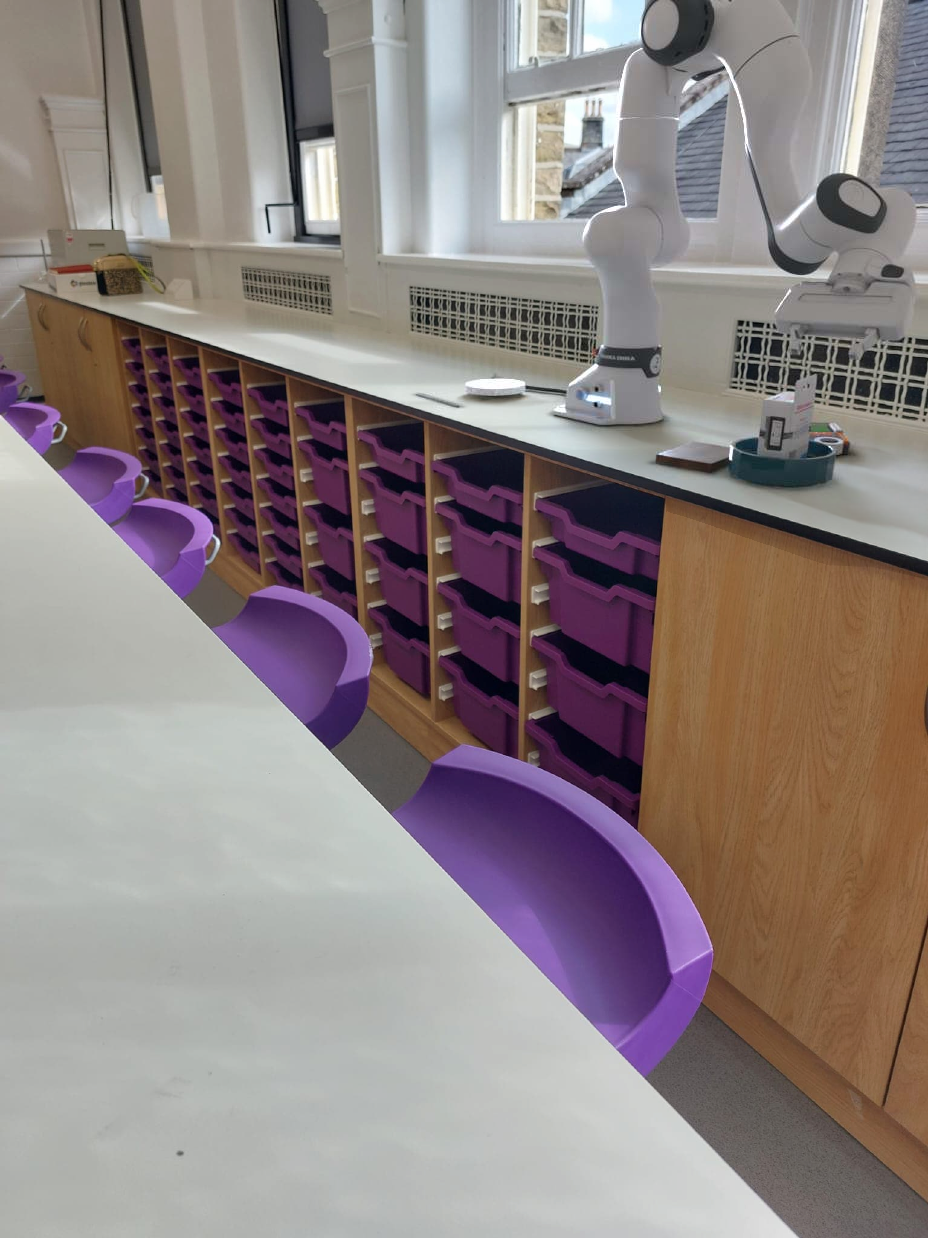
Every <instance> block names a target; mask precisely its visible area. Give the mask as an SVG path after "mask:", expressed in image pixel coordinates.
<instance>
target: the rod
mask: <svg viewBox="0 0 928 1238" xmlns="http://www.w3.org/2000/svg"><path fill="white" fill-rule="evenodd" d="M416 396H418V397H422V398H425V399H429V400H432V401H434V402H435V401H436V402H438V403H442V404H445V405H448V406H451V407H455V408H460V405H458V404H456V403H452V402H449V401H446V400H442V399H439V398H436V397H432V396H429V395H426V394H422V393H419V392H417V393H416Z"/></svg>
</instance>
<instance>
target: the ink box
mask: <svg viewBox="0 0 928 1238" xmlns="http://www.w3.org/2000/svg"><path fill="white" fill-rule="evenodd" d="M817 381H818V374H817V373H814V374H811V375H809V376H806V377H803V378H801V379H797V380H796V382H795V386H794V387H795V388H794V391H788V390H787V391H786V390H785V391H783V392H781V393H778V394H776V395H775V394H774V395H772V396H770V397H767V398H764V399H762V406H761V415H760V424H759V434H758V437H759V441H758V450H757V455H759V456H765V457H773V458H785V459H805V458H806V457H807V450H808V443H809V436H810V429H811V422H813V416H814V407H815V401H816V390H817ZM806 385H808V388H805V389H804V387H805V386H806Z"/></svg>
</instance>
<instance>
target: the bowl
mask: <svg viewBox="0 0 928 1238" xmlns="http://www.w3.org/2000/svg"><path fill="white" fill-rule="evenodd" d="M758 441H759V436H752V437H745V438H739V439H737V440H735V441H733V442H732V443H731V444H730V446H729V447H730V456H729V465H728V466H727V471H728V473H729V474H730V475H731V476H733V477H734V478H736V479H739V480H741V481H744V482H747V483H749V484H754V485H758V486H764V487H773V488H786V489H787V488H788V489H790V488H791V489H793V488H794V489H796V488H797V489H798V488H807V487H808V488H809V487H814V486H818V485H822V484H826V483H827V482H829V481H832V480H833V479H832V478H833V476H834V469H835V464H836V458H837V455H836V452H837V450H836V449H835V448H834V447H833V446H830V445H828V444H825V443H822V442H818V441H813V440H809V443H808V450H807V457H806V458H805V459H785V458H773V457H765V456H759V455H757V450H758Z"/></svg>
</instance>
